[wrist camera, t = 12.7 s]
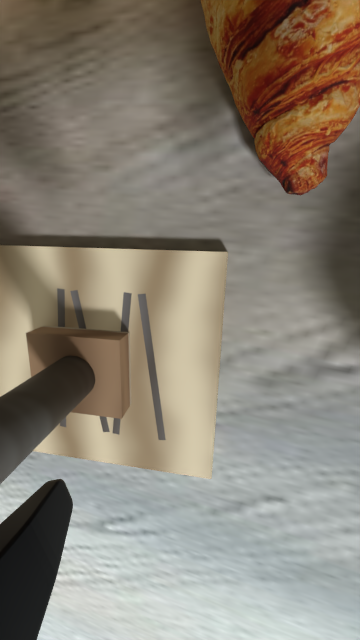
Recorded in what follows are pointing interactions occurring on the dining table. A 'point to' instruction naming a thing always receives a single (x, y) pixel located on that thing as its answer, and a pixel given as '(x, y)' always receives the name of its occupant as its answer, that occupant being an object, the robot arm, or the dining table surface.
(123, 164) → the dining table surface
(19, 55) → the dining table surface
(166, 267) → the birch board
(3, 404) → the grey post on base
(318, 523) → the dining table surface
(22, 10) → the dining table surface
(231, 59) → the croissant
